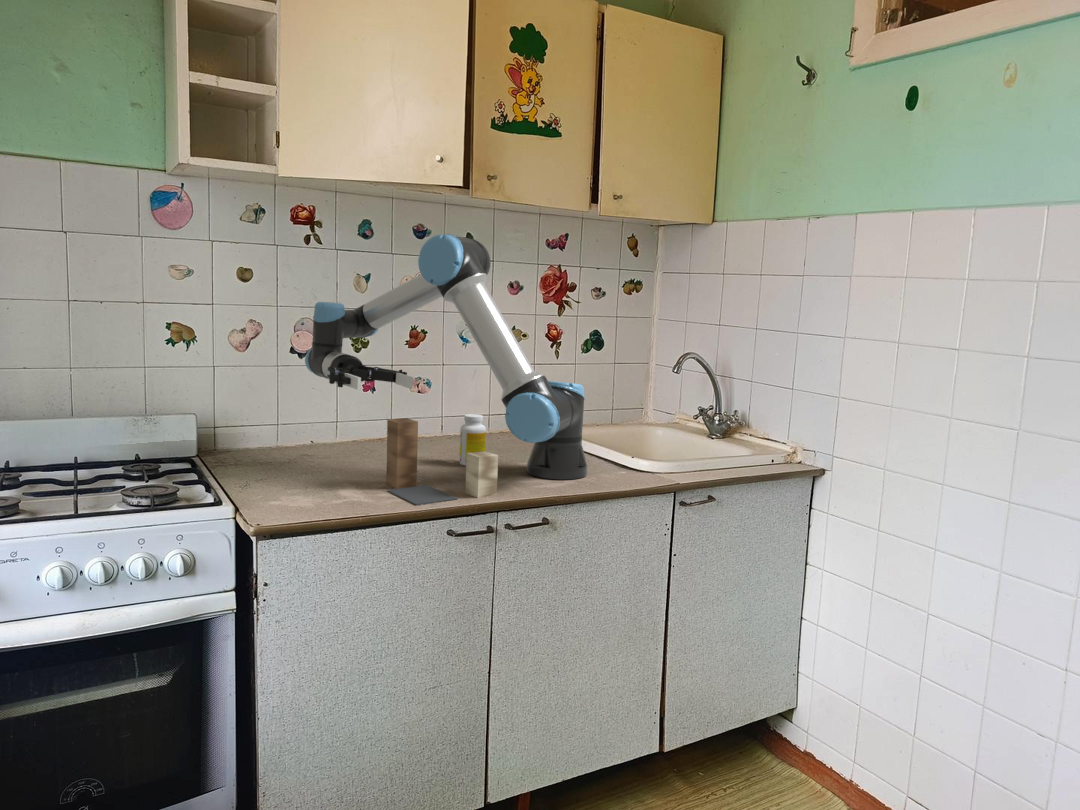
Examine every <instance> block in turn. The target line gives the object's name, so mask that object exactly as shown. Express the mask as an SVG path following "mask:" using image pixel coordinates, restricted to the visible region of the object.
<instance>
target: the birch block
mask: <svg viewBox="0 0 1080 810" xmlns="http://www.w3.org/2000/svg"><path fill="white" fill-rule="evenodd" d="M465 467H466V469H465V492H464V493H465V494H466V495H469V494H470V495H469V496H472V497H474V498H476V497H477V499H479V498H480V499H481V498H487V496H488V497H493V496H492V495H495V496H497V494H498V473H499V472H498V471H499V469H498V468H499V455H498V454H496V453H492V452H489V451H487V450H486V451H482V452H472V453H467V459H466V466H465Z"/></svg>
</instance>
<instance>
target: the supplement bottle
mask: <svg viewBox="0 0 1080 810" xmlns="http://www.w3.org/2000/svg"><path fill="white" fill-rule="evenodd" d="M483 421H484V415H482V414H475V413H468V414H464V424H462V425H461V426H460V430H459V431H460V432H459V433H460V434H459V438H460V439H459V440H460V441H459V464H460V465H461V466H463V467H466V459H467V453H472V452H482V451H487V449H486V448H487V427H486V426H485V425H483V424H482V423H483Z"/></svg>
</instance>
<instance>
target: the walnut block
mask: <svg viewBox="0 0 1080 810" xmlns="http://www.w3.org/2000/svg"><path fill="white" fill-rule="evenodd" d="M386 422H387V423H386V424H387V425H386V427H387V428H386V429H387V430H386V478H385V479H386V481H385V482H386V486H388V485H389V486H388V487H390V488H392V487H393V488H392V489H394V488H395V489H399V488H407V487H414V486H418V482H417V481H418V477H417V476H418V446H419V445H418V444H419V443H418V439H419V421H417V420H415V419H411V418H409V417H405V418H391V419H390V418H389V419H387V420H386Z"/></svg>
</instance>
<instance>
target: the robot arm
mask: <svg viewBox="0 0 1080 810" xmlns="http://www.w3.org/2000/svg"><path fill="white" fill-rule="evenodd" d="M417 264H418V265H417V266H418V270H419V273H420V274H419V275H417V276H414V278H411V279H410V280H408V281H407V280H406V282H404V283H401V284H400V285H398V286H396V287H394V288H392V289H391V290H388V291H387V292H384V293H383V294H381V295H379V296H377V297H375V298H373V299H371V300H370V301H367V302H365V303H364V304H362V305H360V306H358V307H356V308H353V309H345V305H344V304H343V303H342V302H334V301H332V302H331V301H318V302H316V303H315V304H314V312H313V316H312V320H313V321H312V322H313V327H312V344H311V348H310V349H309V350H308V351H307V352H306V354H305V357H304V364H305V366H306V368H307V370H308V371H309V372H310V373H313V374H314V375H315V376H318V377H320V378H324V379H327V380H328V381H329V384H330V385H334V384H336V385H337V388H343V387H344V386H346V387H349V388H351V389H354V390H357V391H358V390H361V383H362V382H370V383H371V382H375V381H381V382H387V383H395V385H398V386H402V387H404V388H406V389H413V385H414V376H411V375H408V372H406V371H403V369H399V370H396V369H395V370H393V369H387V368H382V367H378V366H374V367H373V366H367V365H365V364H363V362H362V361H361V360H360V359H359V358H358V357H357V356H354V355H350V354H347V353H344V352H343V340H344V339H355V338H356V339H357V338H360V339H361V338H362V339H364V338H367V337H372V336H375V334H376V333H377V332H378V330H379V329H380V328H383V327H385V326H386V325H389V324H391V323H393V322H394V321H396V320H399V319H400V318H403V317H405V316H407V315H409V314H410V313H413V312H415V311H416V310H418V309H421V308H423V307H425V306H426V305H429V304H432V302H434V301H437V300H439V299H440V298H442V299H443V300H444V301H445V302H449V303H451V304H454V306H455V308H456V310H457V311H458V313H459V315H460V316H461V318H462V320H463V322H464V324H465V325H466V327H467V329H468V331H469V332H470V334H471V336H472V338H473V339H474V341H475V343H476V345H477V346H478V348H479V350H480V352H481V354H482V356H483V357H484V359H485V361H486V362H487V364H488V366H489V368H490V369H491V371H492V373H493V375H494V377H495V379H496V380H497V382H498V384H499V385H500V387H501V389H502V393H501V398H500V400H501V402H502V404H503V405H504V408H505V414H504V417H505V418H504V419H505V424H506V426H507V428H508V430H509V432H510V433H511V434H512V435H513V436H514V437H516V438H517V439H519V440H520V441H522V442H526V443H531V444H533V446H532V449H531V451H530V454H529V458H528V460H527V463H526V472H527V473H528V474H529V475H530V476H534V477H537V478H541V479H550V480H577V479H581V478H584V477H586V476H588V462H587V459H586V455H585V452H584V448H583V444H582V443H583V440H582V439H583V425H584V423H583V421H584V408H585V407H584V406H585V405H584V404H585V400H586V398H585V388H584V386H583V385H582V384H580V383H573V382H563V381H554V380H553V381H551V380H548V379H547V377H546V375H545V374H544V373H539V372H536V371H535V369H534V368H533V366H532V364H531V362H530V361H529V359H528V358H527V355H526V354H525V351H524V350H523V348H522V347H521V345H520V344H519V341H518V339H517V338H516V337H515V335H514V332H513V330H511V328H510V326H509V324H508V322H507V320H506V319H505V317H504V316H503V313H502V311H501V310H500V308H499V307H498V305H497V303H496V302H495V300H494V298H493V296H492V295H491V293H490V291H489V289H488V287H487V286H486V284H487V280H488V275H489V273H490V271H491V270H490V269H491V264H492V263H491V256H490V253H489V251H488V249H487V248H486V246H485V245H484V244H483V243H481V242H480V241H479V240H477V239H473V238H469V237H463V236H458V235H453V234H450V233H445V234H437V235H433V236H432V237H430V238H429V239H427V240H426V241H425V242H424V243H423V245H422V247H421V248H420V251H419V256H418V259H417Z"/></svg>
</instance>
